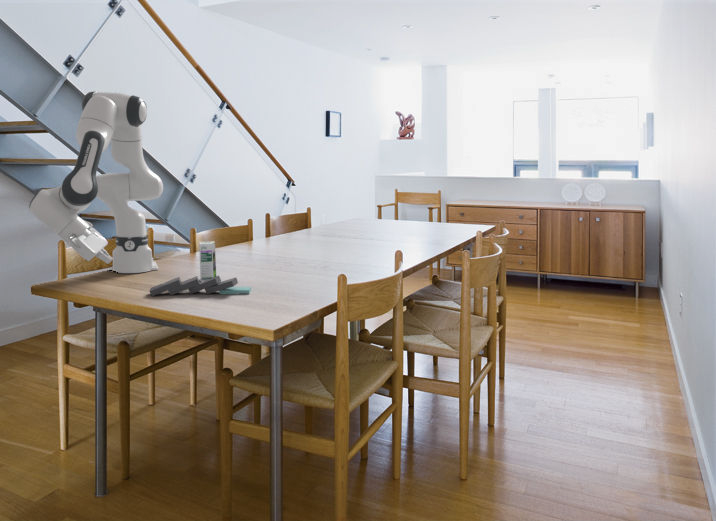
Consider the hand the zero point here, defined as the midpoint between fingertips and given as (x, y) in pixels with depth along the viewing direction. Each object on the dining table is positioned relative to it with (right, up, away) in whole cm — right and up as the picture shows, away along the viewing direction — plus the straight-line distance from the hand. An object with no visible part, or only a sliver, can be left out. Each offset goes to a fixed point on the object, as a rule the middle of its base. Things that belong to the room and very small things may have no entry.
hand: (110, 261), depth 188 cm
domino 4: (+30, -10, +8) cm, 32 cm away
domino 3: (+24, -10, +8) cm, 27 cm away
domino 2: (+18, -10, +5) cm, 21 cm away
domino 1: (+12, -10, +4) cm, 16 cm away
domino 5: (+34, -10, +8) cm, 37 cm away
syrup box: (+25, -7, +27) cm, 38 cm away
